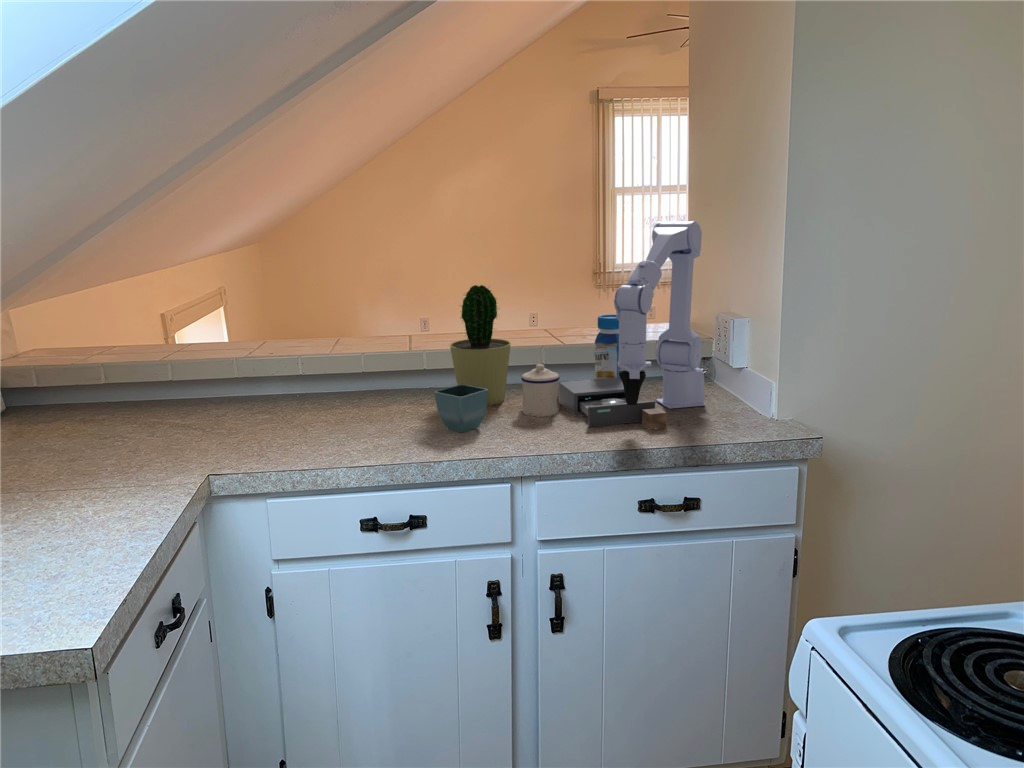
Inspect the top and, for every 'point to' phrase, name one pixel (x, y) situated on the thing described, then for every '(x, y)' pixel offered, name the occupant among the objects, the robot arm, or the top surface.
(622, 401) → the disc
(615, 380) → the grey drawer box
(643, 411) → the walnut block
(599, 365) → the beverage bottle
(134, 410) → the top surface
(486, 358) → the potted cactus
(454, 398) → the flower pot
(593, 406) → the tray
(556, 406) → the cream lidded canister
